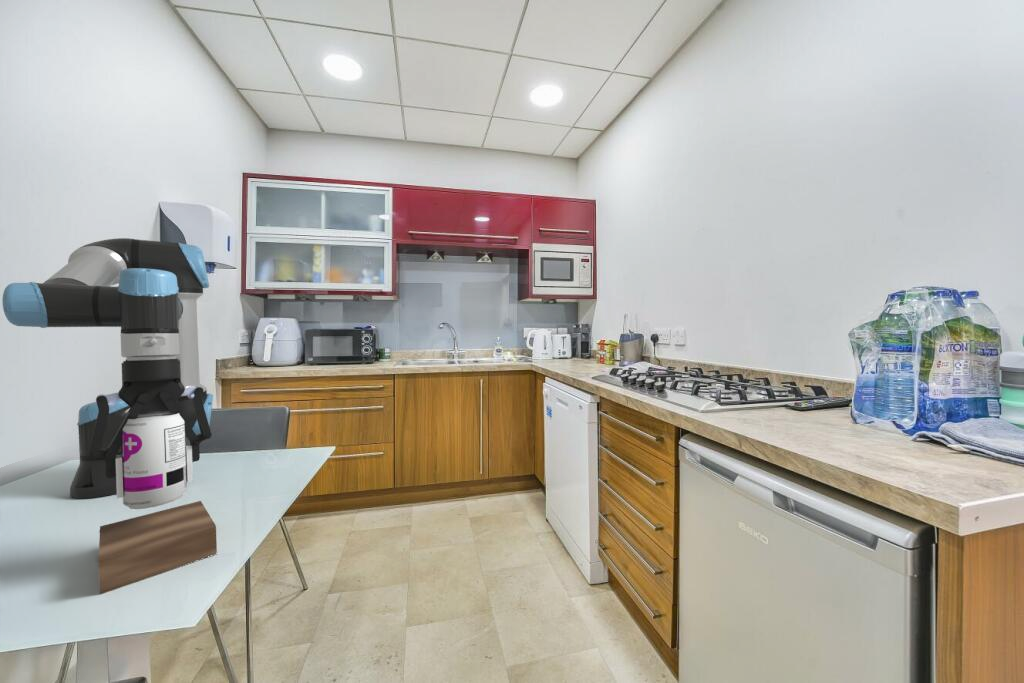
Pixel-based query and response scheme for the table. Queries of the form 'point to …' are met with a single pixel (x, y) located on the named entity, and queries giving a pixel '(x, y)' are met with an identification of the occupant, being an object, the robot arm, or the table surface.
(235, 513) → the table surface
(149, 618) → the table surface
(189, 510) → the walnut base
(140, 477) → the supplement can
